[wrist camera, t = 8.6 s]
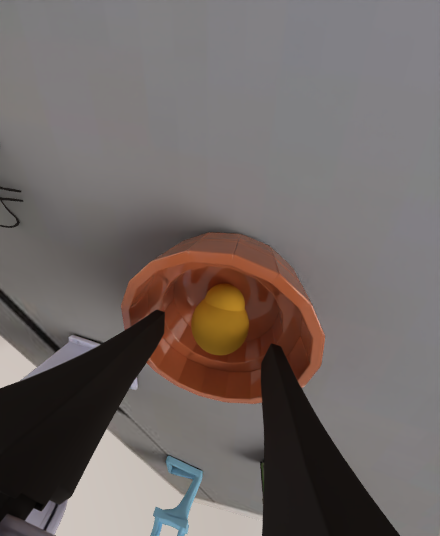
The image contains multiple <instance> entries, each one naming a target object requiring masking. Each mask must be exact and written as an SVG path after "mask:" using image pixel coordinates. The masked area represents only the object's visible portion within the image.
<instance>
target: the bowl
mask: <svg viewBox="0 0 440 536" xmlns="http://www.w3.org/2000/svg"><path fill="white" fill-rule="evenodd" d="M218 284H230V285H233V286H235V287H236V288H238V289H239V290H240V292H241V293H242V295H243V297H244V300H245V310H246V312H247V315H248V319H249V330H248V335H247V337H246V339H245V341H244V343H243V344H242V345H241V346H240V347H239V348H238V349H237V350H236V351H234V352H232V353H230V354H227V355H213V354H210V353H208V352H206V351H205V350H203V349H202V348H201V347H200V346H199V345H198V344H197V342H196V341H195V339H194V337H193V334H192V329H191V321H192V316H193V313H194V311H195V309H196V307H197V306H198V304H199V303H200V302H201V301H202V300H204V299H205V296H206V294H207V292H208V291H209V290H210V289H211V288H212V287H214V286H216V285H218ZM121 309H122V316H123V324H124V329H125V330H126V329H128V328H129V327H131V326H132V325H134V324H136V323H137V322H139V321H140V320H142V319H143V318H145V317H146V316H148V315H149V314H150V313H152V312H153V311H155V310H160V311H163V312H165V330H164V335H163V337H162V338H161V340H160V342H159V344H158V346H157V348H156V349H155V351H154V352H153V354H152V355H151V357H150V358H149V360H148V361H147V364H148V365H149V366H150V367H151V368H152V369H153V370H154V371H155V372H157V373H158V374H160V375H161V376H163V377H164V378H166V379H167V380H168V381H170V382H171V383H173V384H174V385H176V386H178V387H180V388H183V389H185V390H187V391H189V392H192V393H194V394H196V395H198V396H202V397H206V398H210V399H214V400H218V401H222V402H227V403H248V404H253V403H254V404H256V403H262V394H261V362H262V360H263V358H264V356H265V354H266V352H267V350H268V348H269V346H270V344H271V343H272V344H276V345H279V346H281V347H282V349H283V352H284V354H285V356H286V358H287V360H288V362H289V364H290V366H291V368H292V371H293V373H294V375H295V377H296V379H297V380H298V382H299V384H300V386H301V388H303V387H304V386H305V385H306V384H307V383H308V381H309V380H310V379H311V378H312V377H313V375H314V374H315V373H316V372H317V370H318V369H319V368H320V366H321V363H322V356H323V349H324V342H325V335H324V332H323V330H322V327H321V325H320V322H319V320H318V318H317V315H316V313H315V310H314V308H313V305H312V303H311V301H310V300H309V298H308V296H307V294H306V292H305V290H304V288H303V286H302V284H301V283H300V281H299V279H298V277H297V275H296V273H295V271H294V269H293V268H292V267H291V266H290V265H289V264H288V263H287V262H286V261H285V260H284V259H283V258H282V257H281V256H280V255H279V254H278V253H277V252H276V251H275V250H274V249H273V248H271V247H270V246H268V245H266V244H263V243H261V242H259V241H256V240H254V239H252V238H249V237H247V236H245V235H242V234H241V235H240V234H234V233H215V232H210V233H209V232H208V233H205V234H202V235H199V236H196V237H193V238H190V239H187V240H184V241H182V242H180V243H179V244H177V245H176V246H174V247H173V248H171V249H169V250H168V251H166V252H165V253H163V254H162V255H160V256H158V257H157V258H155V259H154V260H152V261H151V262H149V263H148V264H147V265H146V266H145V267H144V268H143V269H142V270H141V271H140V272H139V273H137V274H136V275H135V276H134V277H133V278H132V279H131V280H130V281H129V283H128V286H127V289H126V292H125V295H124V298H123V301H122V304H121Z"/></svg>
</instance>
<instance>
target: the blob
mask: <svg viewBox="0 0 440 536" xmlns="http://www.w3.org/2000/svg"><path fill="white" fill-rule="evenodd" d="M191 329H192V334H193V337H194V339H195V341H196V342H197V344H198V345H199V346H200V347H201V348H202V349H203V350H205V351H206V352H208V353H210V354H213V355H227V354H230V353H232V352H234V351H236V350H237V349H238V348H239V347H240V346H241V345H242V344H243V343H244V341H245V339H246V337H247V335H248V330H249V319H248V315H247V312H246V310H245V300H244V297H243V295H242V293H241V292H240V290H239V289H238V288H236V287H235V286H233V285H230V284H218V285H216V286H214V287H212V288H211V289H210V290H209V291H208V292H207V294H206V296H205V299H204V300H202V301H201V302H200V303H199V304H198V306H197V307H196V309H195V311H194V313H193V316H192V321H191Z"/></svg>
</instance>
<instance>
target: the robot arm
mask: <svg viewBox="0 0 440 536" xmlns="http://www.w3.org/2000/svg"><path fill="white" fill-rule="evenodd" d="M164 330H165V312H163V311H160V310H155V311H153V312H152V313H150V314H149V315H148V316H146V317H145V318H143V319H142V320H140V321H139V322H137V323H136V324H134V325H132V326H131V327H129V328H128V329H126V330H125V331H123V332H121V333H120V334H118V335H116V336H115V337H113V338H111V339H109V340H108V341H106V342H104V343H102V344H99V343H96V342H93V341H90V340H87V339H84V338H81V337H78V336H75V335H71V336H69V337H68V339H69V342H68V343H67V344H66V345H64V346H63V347H62V348H61V349H59V350H58V351H57V352H56V353H54V354H53V355H52V356H51V357H49V358H48V359H47V360H46V361H44V362H43V363H42V364H41V365H39V366H38V367H37V368H35V369H34V370H33V371H32V372H30V373H29V374H28V375H27V376H25V377H24V378H23V379H22V380H20V381H19V382H16V383H14V384H11V385H8V386H5V387H3V388H0V536H55V535H54V534H55V532H56V530H57V528H58V526H59V524H60V522H61V519H62V517H63V514H64V512H65V509H66V505H67V500H68V499H69V498H70V497H71V496H72V494H73V493H74V490H75V488H76V486H77V484H78V482H79V480H80V479H81V477H82V475H83V473H84V471H85V469H86V467H87V465H88V463H89V461H90V459H91V457H92V455H93V453H94V451H95V449H96V447H97V446H98V444H99V442H100V440H101V438H102V436H103V434H104V432H105V430H106V429H107V427H108V425H109V423H110V421H111V420H112V418H113V416H114V414H115V412H116V411H117V409H118V407H119V405H120V404H121V402H122V400H123V398H124V397H125V395H126V393H127V391H128V390H129V388H131V389H134V390H136V389H137V387H138V383H137V376H138V374H139V373H140V371H141V370H142V368H143V367H144V366H145V364H146V363H147V361H148V360H149V358H150V357H151V355H152V354H153V352H154V351H155V349H156V348H157V346H158V344H159V342H160V340H161V338H162V337H163V335H164ZM261 394H262V408H263V422H264V499H263V529H262V536H400V535H399V534H398V532H397V531H396V530H395V528H394V527H393V526H392V524H391V523H390V522H389V520H388V519H387V518H386V516H385V515H384V514H383V512H382V511H381V510H380V508H379V507H378V506H377V504H376V503H375V502H374V500H373V499H372V498H371V496H370V495H369V493H368V492H367V491H366V489H365V488H364V486H363V485H362V484H361V482H360V481H359V479H358V478H357V476H356V475H355V473H354V472H353V471H352V469H351V468H350V466H349V465H348V463H347V462H346V461H345V459H344V458H343V456H342V455H341V453H340V452H339V450H338V449H337V447H336V446H335V444H334V443H333V441H332V440H331V438H330V436H329V435H328V433H327V432H326V430H325V428H324V427H323V425H322V424H321V422H320V420H319V419H318V417H317V415H316V413H315V412H314V410H313V408H312V406H311V405H310V403H309V401H308V399H307V398H306V396H305V394H304V392H303V390H302V388H301V386H300V384H299V382H298V380H297V379H296V377H295V375H294V373H293V371H292V368H291V366H290V364H289V362H288V360H287V358H286V356H285V354H284V352H283V349H282V347H281V346H279V345H276V344H272V343H271V344H270V346H269V348H268V350H267V352H266V354H265V356H264V358H263V360H262V362H261Z"/></svg>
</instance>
